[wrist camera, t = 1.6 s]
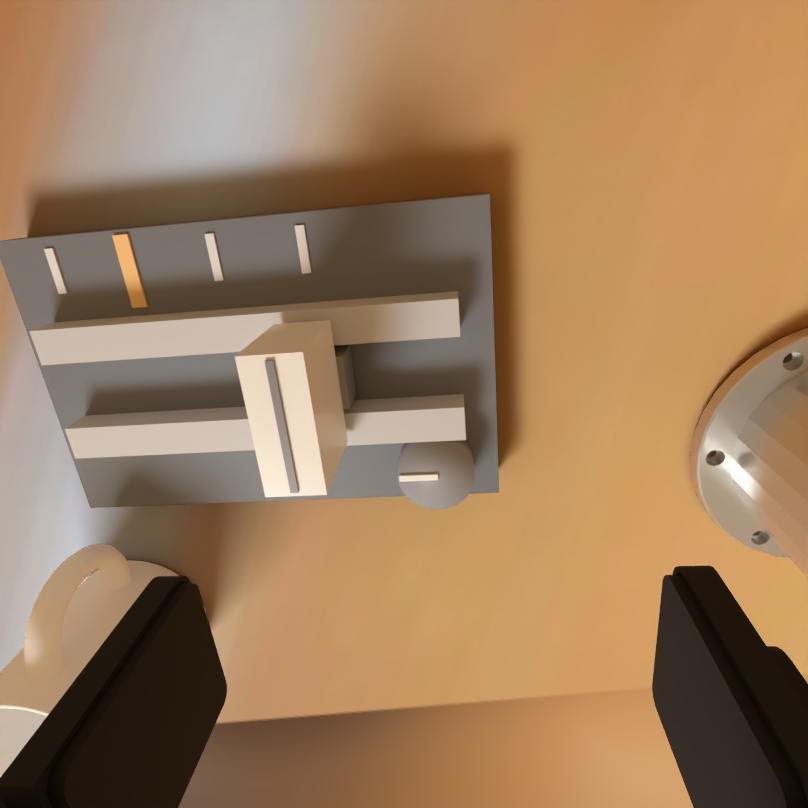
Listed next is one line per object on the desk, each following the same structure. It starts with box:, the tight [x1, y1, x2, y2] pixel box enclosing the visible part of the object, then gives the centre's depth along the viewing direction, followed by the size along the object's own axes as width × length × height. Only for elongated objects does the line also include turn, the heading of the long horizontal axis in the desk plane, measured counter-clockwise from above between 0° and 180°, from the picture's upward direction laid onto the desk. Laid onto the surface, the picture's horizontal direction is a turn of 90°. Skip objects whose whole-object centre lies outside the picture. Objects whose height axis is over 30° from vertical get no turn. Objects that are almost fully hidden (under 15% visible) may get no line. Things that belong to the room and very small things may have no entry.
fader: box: [235, 320, 356, 497], centre depth 22 cm, size 3×6×6 cm, turn 5°
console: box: [0, 193, 499, 509], centre depth 26 cm, size 22×14×4 cm, turn 95°
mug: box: [0, 544, 207, 777], centre depth 29 cm, size 12×8×10 cm
